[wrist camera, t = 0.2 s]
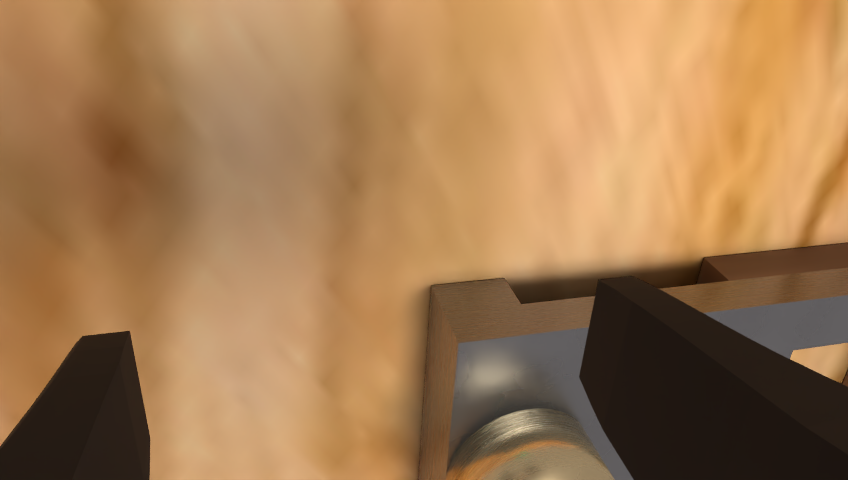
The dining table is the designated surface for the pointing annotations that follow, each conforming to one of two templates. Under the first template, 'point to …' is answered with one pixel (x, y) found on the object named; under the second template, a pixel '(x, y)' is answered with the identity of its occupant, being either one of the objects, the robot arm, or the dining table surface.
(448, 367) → the metal link
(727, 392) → the robot arm
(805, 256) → the walnut link
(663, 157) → the dining table surface
